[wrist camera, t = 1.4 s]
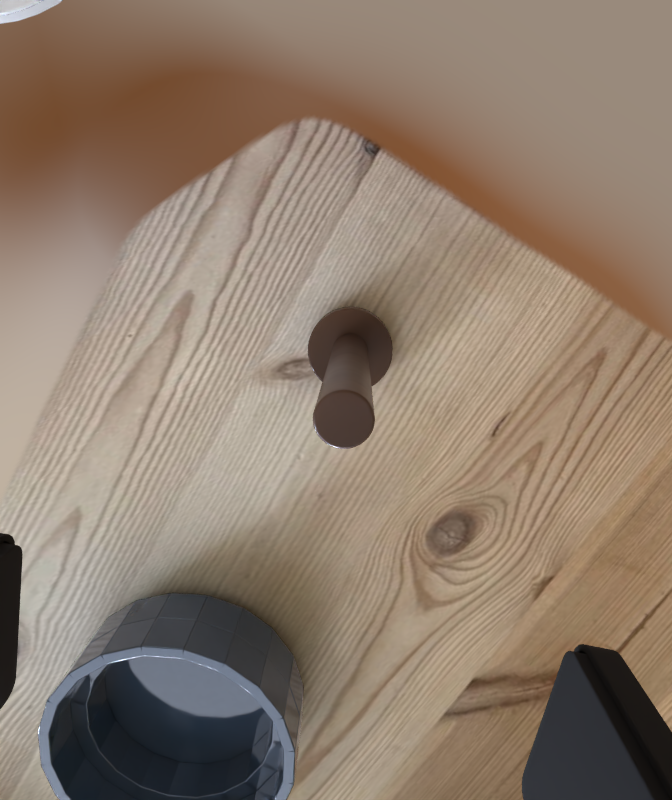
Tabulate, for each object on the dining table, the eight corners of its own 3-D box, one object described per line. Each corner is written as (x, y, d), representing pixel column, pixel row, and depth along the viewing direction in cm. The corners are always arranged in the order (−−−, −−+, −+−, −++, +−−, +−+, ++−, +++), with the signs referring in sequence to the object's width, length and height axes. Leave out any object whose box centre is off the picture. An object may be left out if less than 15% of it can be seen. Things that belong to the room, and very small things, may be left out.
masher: (293, 335, 32) (240, 398, 18) (362, 290, 32) (366, 316, 17) (338, 402, 33) (322, 514, 19) (406, 360, 33) (446, 442, 18)
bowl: (41, 652, 39) (-15, 721, 33) (218, 546, 36) (191, 601, 30) (174, 802, 41) (144, 891, 36) (346, 714, 39) (344, 794, 33)
